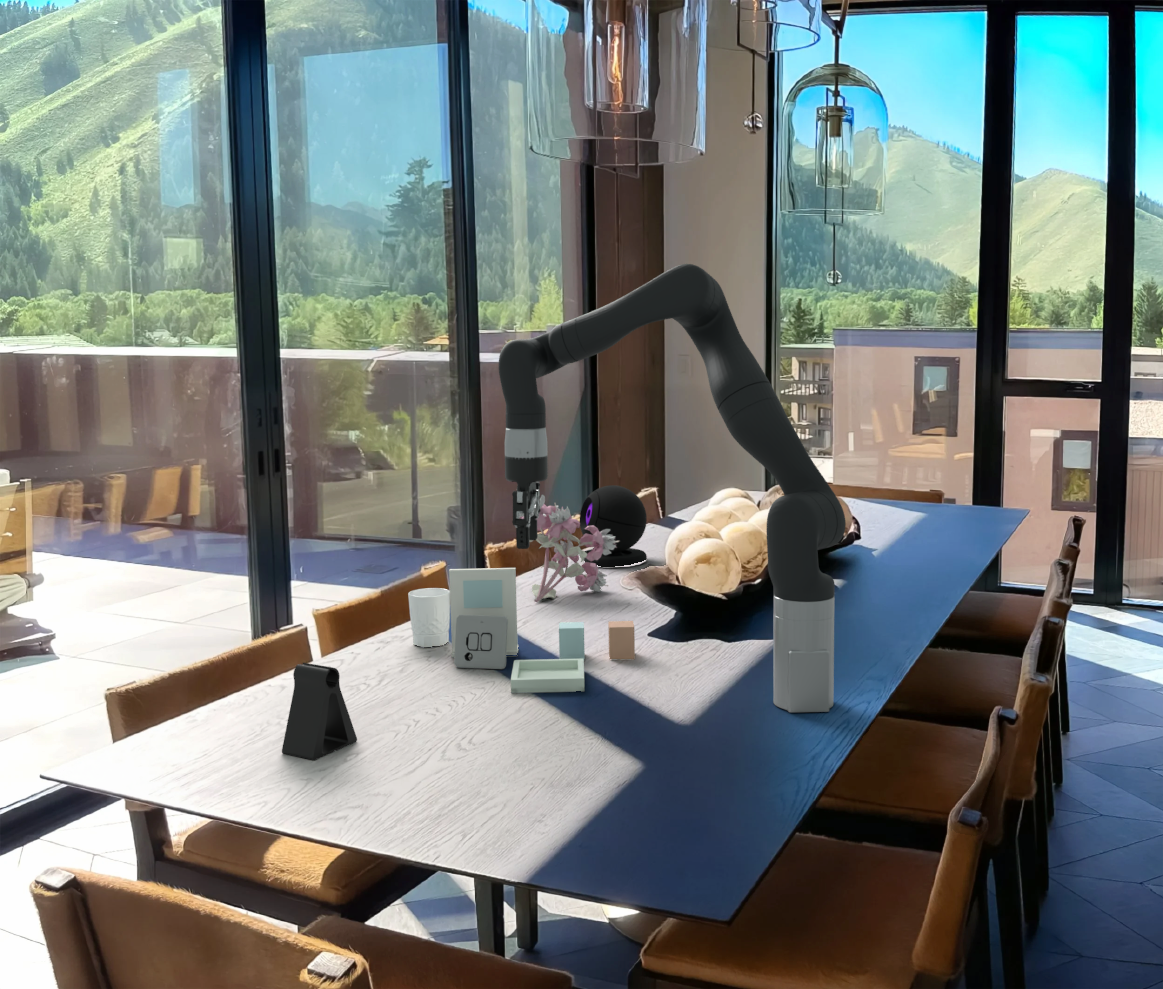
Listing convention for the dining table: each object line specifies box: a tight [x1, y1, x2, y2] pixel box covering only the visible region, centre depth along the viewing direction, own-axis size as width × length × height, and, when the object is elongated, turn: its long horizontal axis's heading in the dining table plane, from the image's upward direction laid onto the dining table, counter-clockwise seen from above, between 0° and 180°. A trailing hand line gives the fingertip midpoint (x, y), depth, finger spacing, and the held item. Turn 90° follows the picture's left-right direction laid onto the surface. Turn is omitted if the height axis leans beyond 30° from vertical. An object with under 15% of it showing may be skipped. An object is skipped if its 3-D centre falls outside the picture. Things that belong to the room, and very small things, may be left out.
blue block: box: [558, 621, 586, 660], centre depth 209 cm, size 4×4×6 cm
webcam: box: [579, 484, 648, 567], centre depth 299 cm, size 17×17×20 cm
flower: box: [519, 494, 619, 603], centre depth 260 cm, size 20×22×25 cm
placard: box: [448, 567, 519, 658], centre depth 213 cm, size 5×12×16 cm, turn 91°
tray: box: [510, 658, 585, 694], centre depth 195 cm, size 12×12×2 cm
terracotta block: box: [607, 620, 636, 660], centre depth 210 cm, size 4×4×6 cm
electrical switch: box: [453, 615, 508, 670], centre depth 205 cm, size 9×5×9 cm, turn 78°
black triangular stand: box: [281, 662, 358, 761], centre depth 164 cm, size 9×6×12 cm, turn 149°
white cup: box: [407, 587, 451, 648], centre depth 221 cm, size 8×8×10 cm
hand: (527, 544), depth 206 cm, fingers open, 8 cm apart
